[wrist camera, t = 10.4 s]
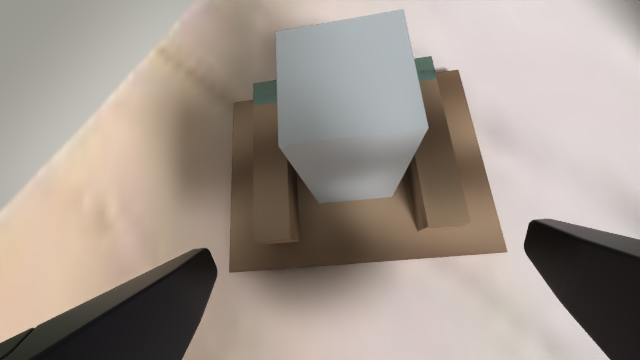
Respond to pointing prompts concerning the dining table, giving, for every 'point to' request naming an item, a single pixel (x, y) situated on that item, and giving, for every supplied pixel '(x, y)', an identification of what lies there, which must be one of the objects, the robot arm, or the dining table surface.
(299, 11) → the dining table surface
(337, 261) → the brown wooden holder
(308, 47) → the block
